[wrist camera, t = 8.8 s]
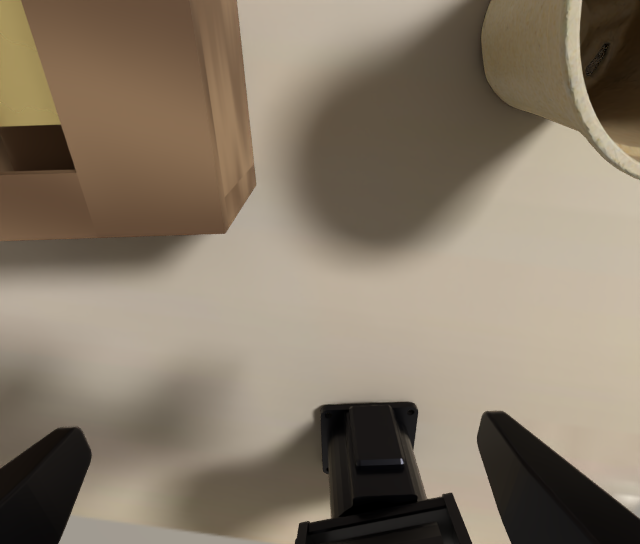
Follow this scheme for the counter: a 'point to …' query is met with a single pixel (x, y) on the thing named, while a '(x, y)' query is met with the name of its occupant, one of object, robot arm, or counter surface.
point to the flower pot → (571, 68)
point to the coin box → (131, 123)
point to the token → (22, 73)
